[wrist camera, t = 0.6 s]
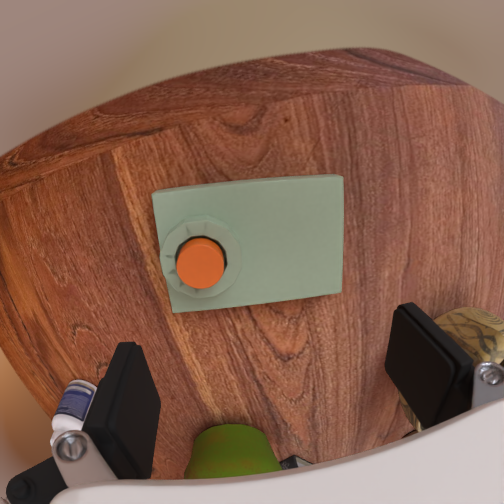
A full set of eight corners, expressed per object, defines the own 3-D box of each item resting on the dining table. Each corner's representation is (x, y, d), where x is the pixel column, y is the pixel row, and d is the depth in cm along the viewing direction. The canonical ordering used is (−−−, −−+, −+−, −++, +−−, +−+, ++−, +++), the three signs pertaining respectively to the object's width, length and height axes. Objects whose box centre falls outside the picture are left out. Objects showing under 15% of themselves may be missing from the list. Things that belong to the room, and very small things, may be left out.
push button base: (175, 302, 30) (170, 323, 26) (156, 190, 26) (146, 198, 22) (333, 283, 31) (348, 301, 27) (334, 173, 27) (352, 179, 23)
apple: (291, 435, 39) (308, 498, 29) (228, 466, 41) (233, 524, 30) (234, 397, 35) (242, 473, 24) (168, 434, 37) (163, 501, 26)
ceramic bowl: (477, 353, 39) (528, 406, 25) (396, 412, 41) (436, 480, 27) (464, 246, 32) (552, 299, 18) (356, 323, 33) (421, 417, 19)
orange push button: (182, 281, 25) (180, 291, 24) (175, 240, 24) (172, 247, 22) (225, 277, 26) (226, 286, 24) (220, 235, 24) (221, 242, 23)
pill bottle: (60, 385, 32) (36, 438, 23) (84, 373, 32) (59, 431, 23) (88, 410, 34) (70, 464, 25) (113, 400, 34) (96, 459, 25)
